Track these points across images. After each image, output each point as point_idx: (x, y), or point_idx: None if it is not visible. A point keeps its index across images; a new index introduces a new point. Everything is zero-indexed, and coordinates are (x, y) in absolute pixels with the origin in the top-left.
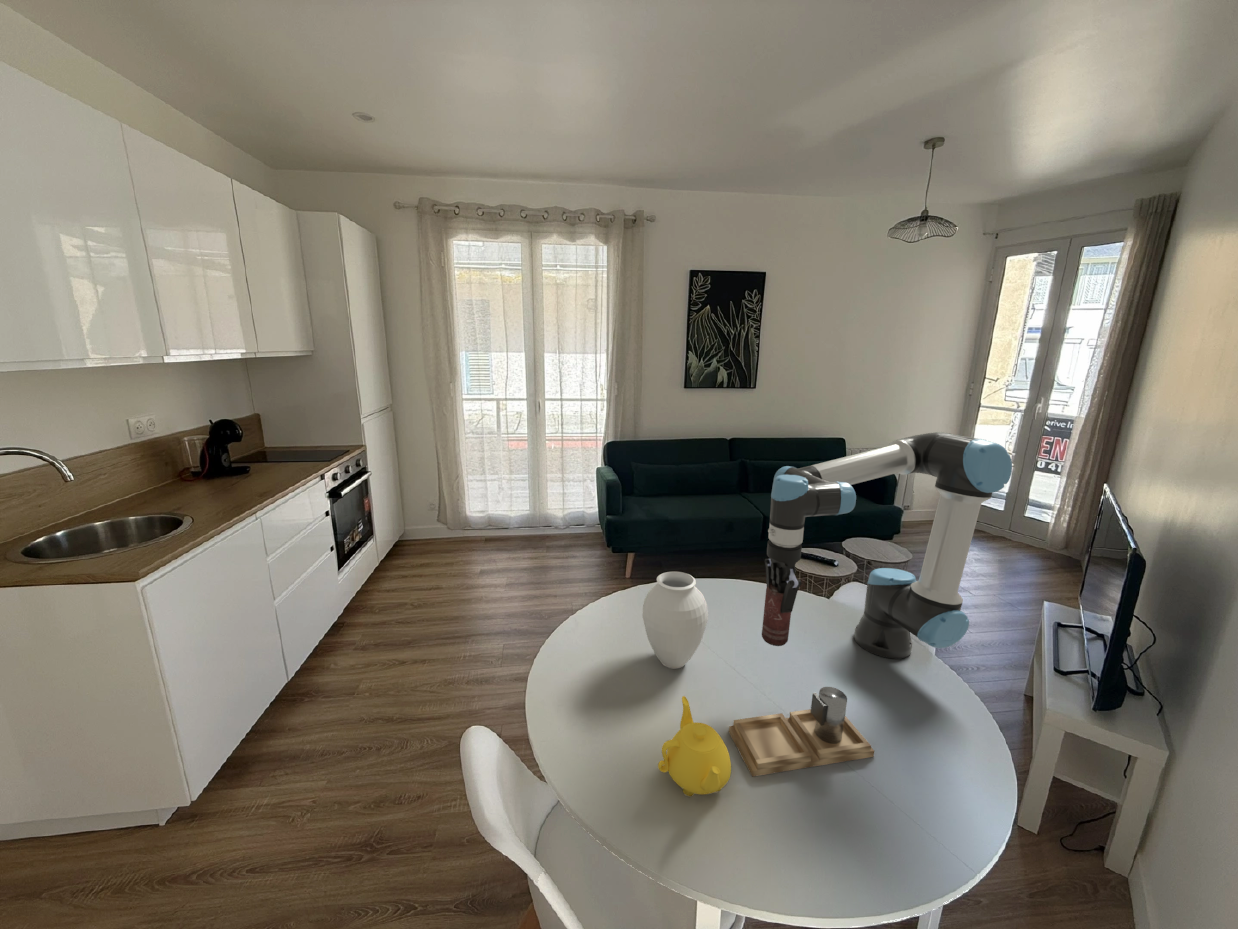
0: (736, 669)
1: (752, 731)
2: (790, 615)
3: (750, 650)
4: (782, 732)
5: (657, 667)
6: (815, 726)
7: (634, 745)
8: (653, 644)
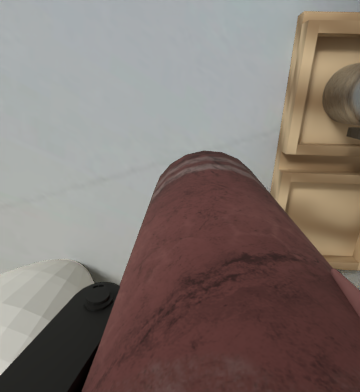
0: (105, 175)
1: None
2: (294, 225)
3: (36, 108)
4: (309, 186)
5: None
6: (340, 121)
7: None
8: None
